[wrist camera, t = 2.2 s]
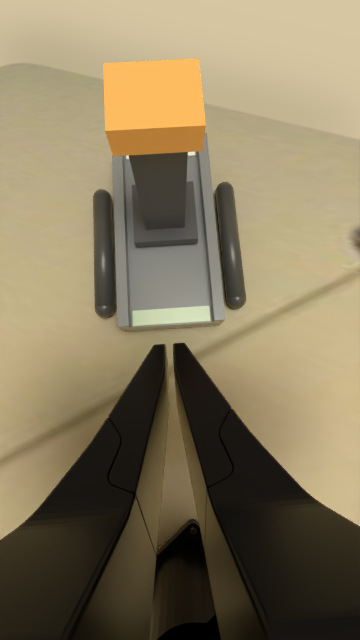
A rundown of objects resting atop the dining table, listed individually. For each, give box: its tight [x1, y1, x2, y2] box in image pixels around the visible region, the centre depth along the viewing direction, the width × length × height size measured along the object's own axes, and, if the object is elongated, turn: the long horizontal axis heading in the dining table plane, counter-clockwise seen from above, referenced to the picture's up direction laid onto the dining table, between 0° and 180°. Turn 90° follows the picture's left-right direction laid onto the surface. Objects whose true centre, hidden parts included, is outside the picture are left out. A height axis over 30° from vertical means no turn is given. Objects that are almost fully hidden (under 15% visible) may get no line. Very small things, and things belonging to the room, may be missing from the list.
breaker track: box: [93, 133, 246, 332], centre depth 22 cm, size 16×13×3 cm
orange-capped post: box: [103, 59, 206, 247], centre depth 17 cm, size 5×5×10 cm
